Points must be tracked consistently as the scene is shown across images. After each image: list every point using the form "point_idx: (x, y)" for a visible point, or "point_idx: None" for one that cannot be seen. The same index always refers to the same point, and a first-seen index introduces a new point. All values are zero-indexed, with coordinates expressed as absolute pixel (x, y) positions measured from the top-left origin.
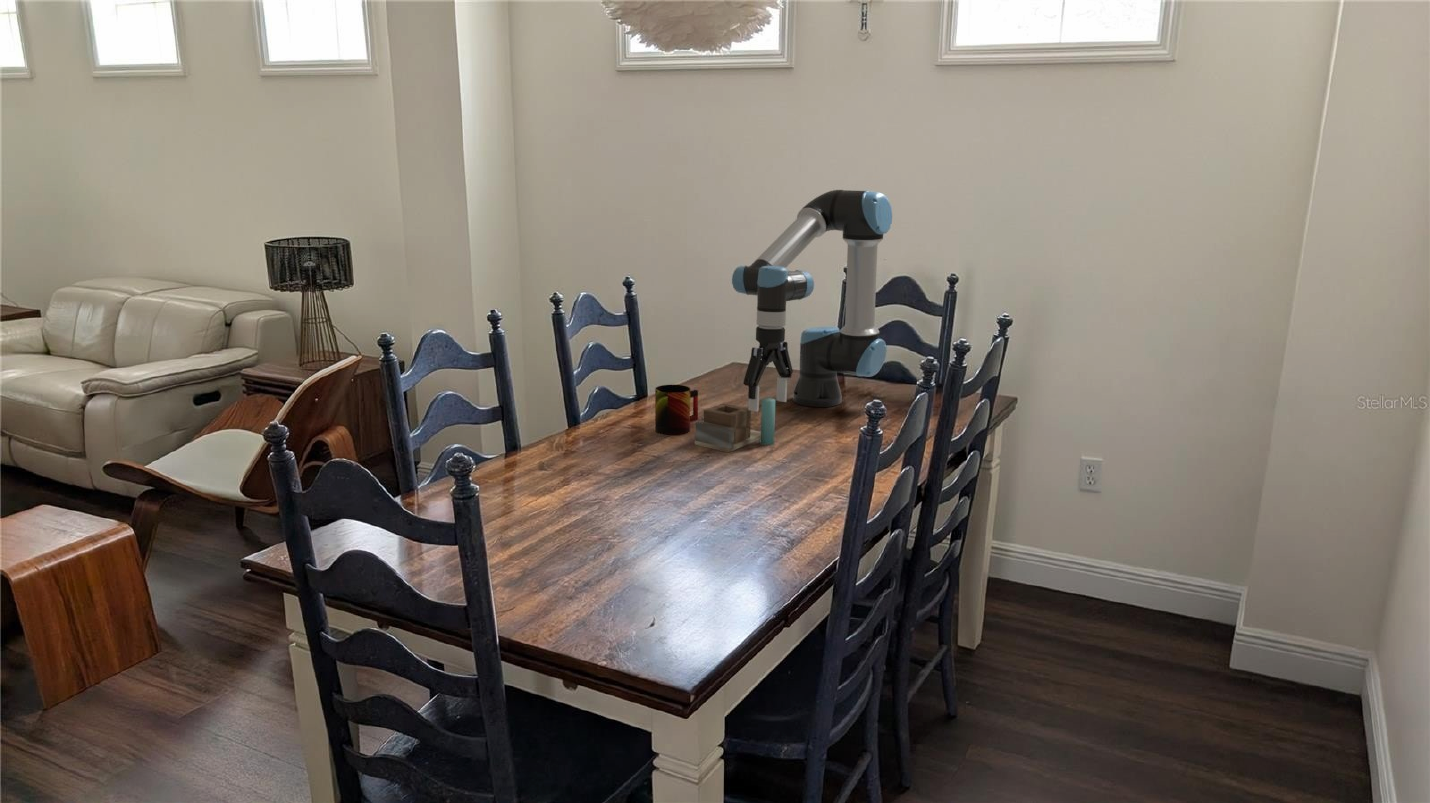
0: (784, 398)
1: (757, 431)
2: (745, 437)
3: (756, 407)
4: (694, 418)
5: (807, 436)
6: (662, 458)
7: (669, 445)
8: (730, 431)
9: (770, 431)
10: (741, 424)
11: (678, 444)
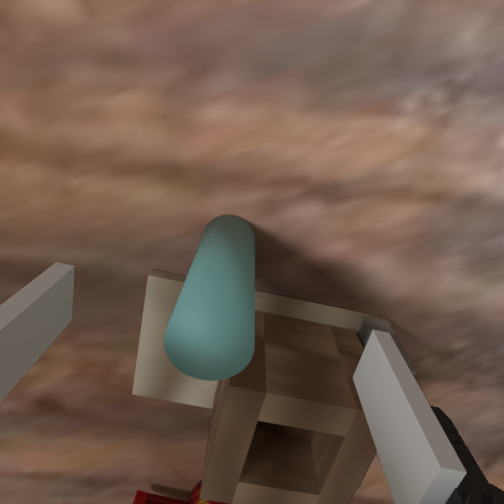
0: (63, 279)
1: (147, 309)
2: (267, 316)
3: (395, 351)
4: (150, 501)
5: (52, 121)
6: (501, 444)
7: (375, 468)
8: (406, 363)
9: (246, 241)
10: (301, 359)
11: None
